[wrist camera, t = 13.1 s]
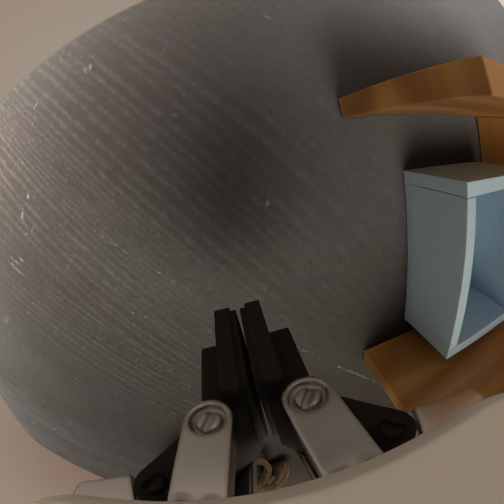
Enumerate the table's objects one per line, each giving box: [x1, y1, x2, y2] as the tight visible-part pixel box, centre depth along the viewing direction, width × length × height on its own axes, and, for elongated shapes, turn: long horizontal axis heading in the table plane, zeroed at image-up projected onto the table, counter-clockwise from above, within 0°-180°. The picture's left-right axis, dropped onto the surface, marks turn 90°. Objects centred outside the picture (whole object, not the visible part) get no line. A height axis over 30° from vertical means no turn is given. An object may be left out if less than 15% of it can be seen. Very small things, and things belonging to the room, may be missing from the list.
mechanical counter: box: [256, 457, 289, 491], centre depth 19 cm, size 7×13×10 cm
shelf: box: [338, 55, 504, 412], centre depth 12 cm, size 18×14×11 cm
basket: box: [403, 161, 504, 359], centre depth 15 cm, size 11×8×6 cm
